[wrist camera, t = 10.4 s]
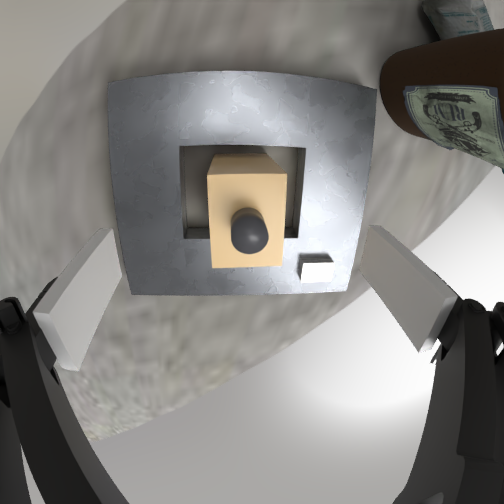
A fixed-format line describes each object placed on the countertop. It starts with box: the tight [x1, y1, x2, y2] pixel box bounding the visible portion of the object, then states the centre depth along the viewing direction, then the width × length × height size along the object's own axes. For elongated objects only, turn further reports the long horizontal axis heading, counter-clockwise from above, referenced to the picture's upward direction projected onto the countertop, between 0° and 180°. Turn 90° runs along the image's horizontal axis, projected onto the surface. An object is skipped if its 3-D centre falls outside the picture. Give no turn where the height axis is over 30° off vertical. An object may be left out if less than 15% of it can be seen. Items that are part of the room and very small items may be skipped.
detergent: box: [422, 0, 504, 174], centre depth 17 cm, size 13×7×25 cm
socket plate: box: [108, 71, 377, 295], centre depth 23 cm, size 22×20×4 cm
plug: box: [207, 153, 287, 268], centre depth 20 cm, size 4×6×11 cm
